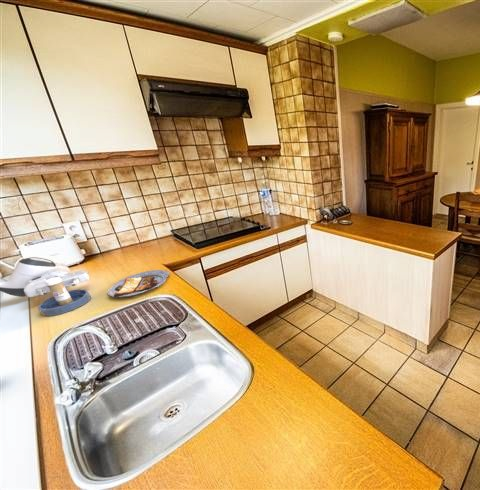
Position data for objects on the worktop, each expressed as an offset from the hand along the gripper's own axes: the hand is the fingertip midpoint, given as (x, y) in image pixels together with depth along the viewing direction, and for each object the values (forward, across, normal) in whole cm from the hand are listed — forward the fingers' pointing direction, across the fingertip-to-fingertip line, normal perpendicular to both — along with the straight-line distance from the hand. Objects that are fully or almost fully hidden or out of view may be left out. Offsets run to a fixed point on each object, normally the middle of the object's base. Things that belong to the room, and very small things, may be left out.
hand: (59, 288), depth 120 cm
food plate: (+11, -26, -8) cm, 29 cm away
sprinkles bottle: (+4, 0, -7) cm, 8 cm away
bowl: (+4, 0, -8) cm, 8 cm away
